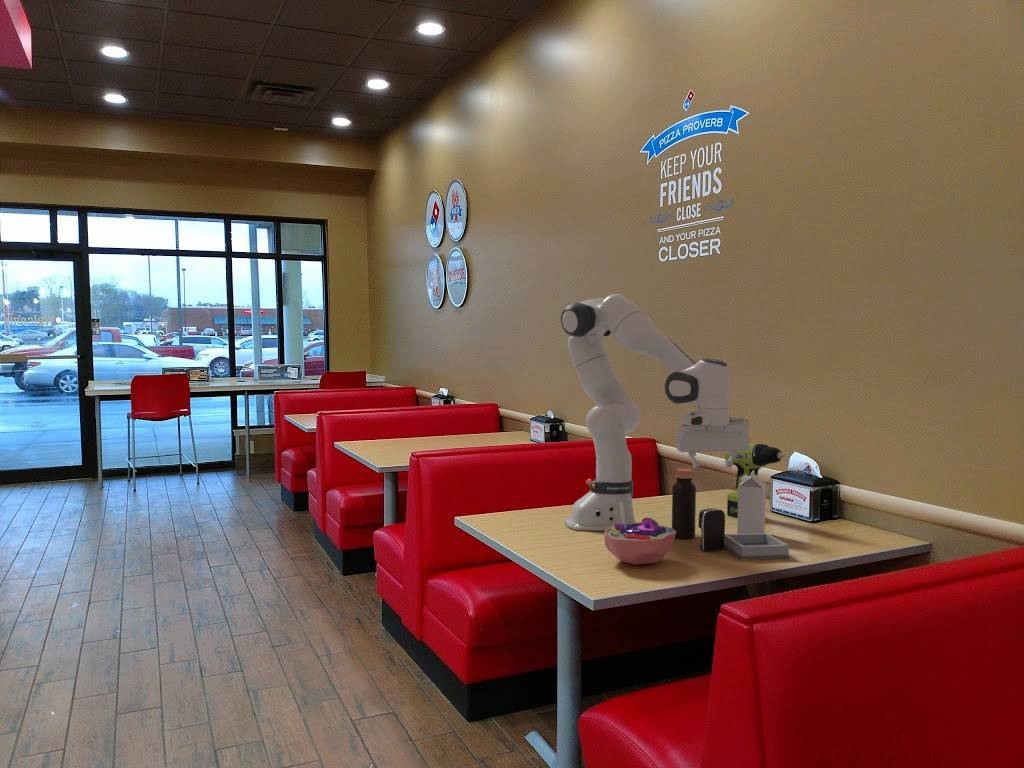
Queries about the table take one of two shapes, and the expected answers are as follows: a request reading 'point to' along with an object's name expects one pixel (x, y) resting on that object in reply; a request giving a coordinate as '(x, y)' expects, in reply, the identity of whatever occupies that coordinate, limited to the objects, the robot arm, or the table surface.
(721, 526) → the battery charger
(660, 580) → the table surface
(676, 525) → the bottle
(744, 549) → the tray
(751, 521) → the milk carton
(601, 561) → the table surface
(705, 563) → the table surface
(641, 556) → the cell model
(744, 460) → the cordless drill
